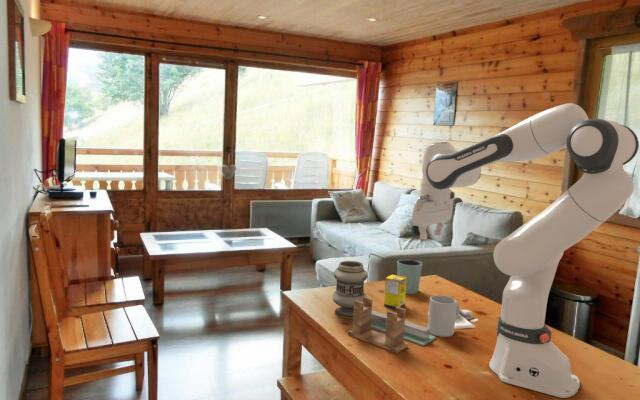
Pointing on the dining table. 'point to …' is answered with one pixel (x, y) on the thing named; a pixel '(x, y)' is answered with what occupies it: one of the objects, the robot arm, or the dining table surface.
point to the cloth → (464, 319)
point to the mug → (442, 315)
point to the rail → (409, 328)
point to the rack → (363, 332)
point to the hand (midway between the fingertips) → (430, 237)
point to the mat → (406, 336)
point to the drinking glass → (410, 274)
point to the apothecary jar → (349, 287)
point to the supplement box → (395, 291)
